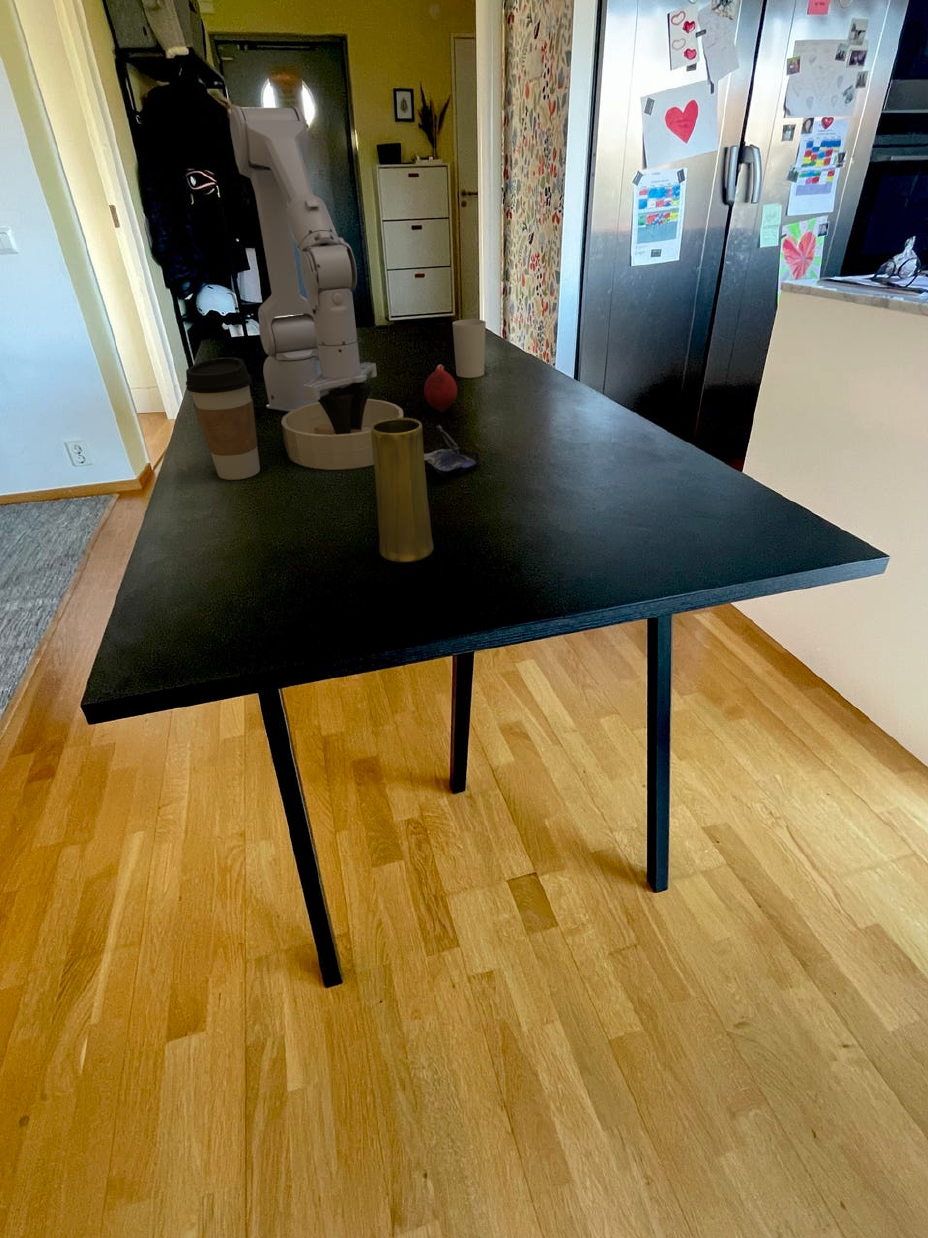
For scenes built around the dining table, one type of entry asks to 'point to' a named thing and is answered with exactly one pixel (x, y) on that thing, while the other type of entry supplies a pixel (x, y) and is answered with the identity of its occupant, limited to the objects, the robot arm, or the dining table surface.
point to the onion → (440, 389)
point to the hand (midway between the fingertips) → (348, 435)
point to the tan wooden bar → (330, 430)
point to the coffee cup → (226, 415)
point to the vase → (401, 490)
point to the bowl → (332, 437)
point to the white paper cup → (469, 347)
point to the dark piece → (450, 457)
